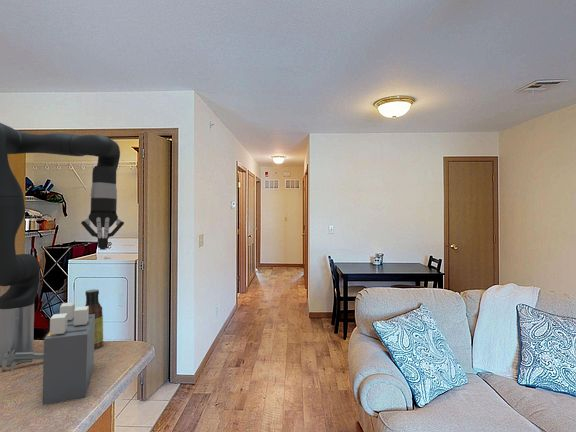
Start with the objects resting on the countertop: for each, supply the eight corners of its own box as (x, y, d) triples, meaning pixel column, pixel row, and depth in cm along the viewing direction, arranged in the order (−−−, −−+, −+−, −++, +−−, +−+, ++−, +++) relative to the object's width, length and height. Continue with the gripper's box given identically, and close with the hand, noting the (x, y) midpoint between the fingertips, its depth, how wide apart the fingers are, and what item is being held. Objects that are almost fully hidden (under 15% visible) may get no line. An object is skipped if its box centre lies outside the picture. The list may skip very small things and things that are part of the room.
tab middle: (73, 325, 88) (73, 310, 89) (75, 321, 92) (76, 307, 92) (86, 324, 90) (86, 309, 90) (88, 320, 93) (88, 306, 93)
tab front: (49, 334, 81) (50, 318, 81) (53, 329, 85) (53, 314, 85) (64, 333, 83) (64, 317, 83) (67, 328, 86) (67, 313, 86)
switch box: (42, 405, 79) (44, 338, 80) (58, 371, 97) (59, 316, 97) (85, 397, 83) (87, 333, 83) (93, 366, 100) (95, 313, 101)
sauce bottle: (102, 342, 120) (104, 287, 120) (103, 348, 114) (104, 291, 115) (81, 345, 116) (83, 289, 117) (81, 351, 111) (82, 292, 111)
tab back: (59, 320, 92) (59, 306, 92) (62, 316, 96) (62, 303, 96) (72, 319, 93) (72, 305, 93) (74, 315, 97) (74, 302, 97)
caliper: (2, 373, 96) (2, 351, 96) (2, 371, 96) (2, 350, 96) (83, 356, 108) (84, 337, 108) (83, 355, 109) (84, 336, 109)
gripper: (126, 198, 115) (125, 248, 115) (82, 197, 110) (80, 248, 109) (126, 197, 108) (124, 250, 108) (79, 195, 103) (77, 251, 103)
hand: (102, 249), depth 109 cm, fingers closed
